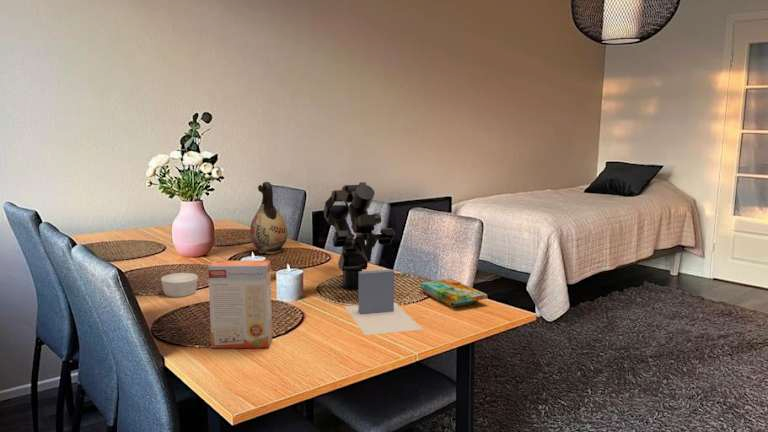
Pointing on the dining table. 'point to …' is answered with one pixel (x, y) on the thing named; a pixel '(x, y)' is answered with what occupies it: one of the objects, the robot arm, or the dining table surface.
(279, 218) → the ceramic jug
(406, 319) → the mat
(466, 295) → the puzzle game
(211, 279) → the cracker box
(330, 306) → the dining table surface
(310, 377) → the dining table surface
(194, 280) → the ramekin
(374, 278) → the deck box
